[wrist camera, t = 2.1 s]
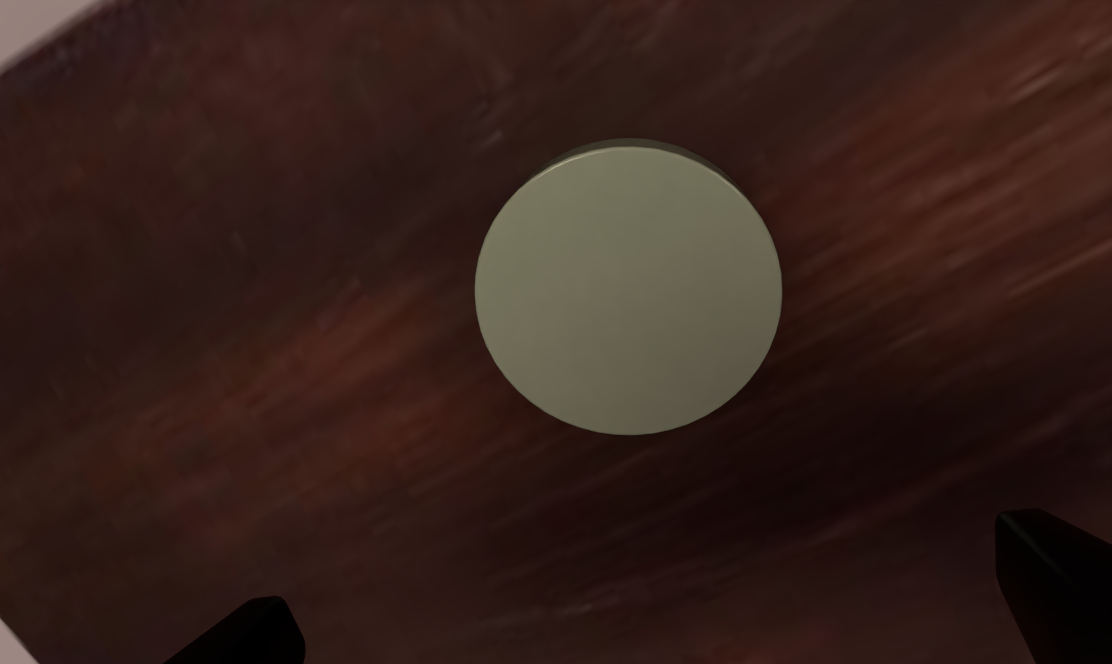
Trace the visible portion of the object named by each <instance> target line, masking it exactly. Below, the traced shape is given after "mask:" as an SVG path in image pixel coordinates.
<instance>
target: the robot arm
mask: <svg viewBox="0 0 1112 664" xmlns="http://www.w3.org/2000/svg"><path fill="white" fill-rule="evenodd" d="M995 551H996V574H997V579H998V583H999V586H1000V589H1001V591H1002V593H1003V596H1004V598H1005V600H1006V602H1007V604H1008V606H1009V608H1010V610H1011V612H1012V614H1013V616H1014V619H1015V621H1016V623H1017V625H1018V627H1019V629H1020V631H1021V633H1022V635H1023V637H1024V640H1025V642H1026V644H1027V646H1028V648H1029V650H1030V652H1031V654H1032V656H1033V658H1034V661H1035V663H1036V664H1112V545H1111V544H1109V543H1107V542H1105V541H1103V540H1101V539H1099V538H1097V537H1095V536H1093V535H1092V534H1090V533H1088V532H1086V531H1084V530H1082V529H1080V528H1078V527H1076V526H1074V525H1072V524H1070V523H1068V522H1066V521H1064V520H1062V519H1060V518H1058V517H1056V516H1054V515H1052V514H1050V513H1048V512H1046V511H1044V510H1041V509H1037V508H1030V509H1021V510H1013V511H1004V512H1001V513H1000V514H999V515H998V516H997V518H996V522H995ZM305 651H306V650H305V641H304V638H303V635H302V633H301V631H300V629H299V627H298V625H297V623H296V621H295V619H294V617H293V615H292V613H291V611H290V609H289V607H288V605H287V603H286V602H285V600H283V599H282V598H281V597H278V596H269V597H260V598H254V599H251V600H249V601H247V602H246V603H244V604H243V605H242V606H240V607H239V608H237V609H236V610H235V611H233V612H232V613H231V614H229V615H228V616H227V617H225V618H224V619H223V620H221V621H220V622H219V623H217V624H216V625H215V626H213V627H212V628H210V629H209V630H208V631H206V632H205V633H204V634H202V635H201V636H200V637H198V638H197V639H196V640H194V641H193V642H192V643H190V644H189V645H188V646H186V647H185V648H183V649H182V650H181V651H179V652H178V653H177V654H175V655H174V656H173V657H171V658H170V659H169V660H167V661H166V662H165V663H163V664H303V663H304V659H305Z"/></svg>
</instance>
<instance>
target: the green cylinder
mask: <svg viewBox="0 0 1112 664" xmlns="http://www.w3.org/2000/svg"><path fill="white" fill-rule="evenodd" d="M782 295H783V292H782V274H781V269H780V264H779V259H778V254H777V251H776V248H775V246H774V243H773V240H772V237H771V235H770V233H769V231H768V229H767V227H766V225H765V224H764V222H763V220H762V218H761V216H760V215H759V213H758V212H757V210H756V209H755V207H754V206H753V204H752V203H751V202H750V200H749V199H748V198H747V196H746V195H745V193H744V192H743V191H742V189H741V188H740V187H739V186H738V185H737V184H736V183H735V182H734V181H733V180H732V179H731V178H730V177H729V176H728V175H727V174H726V173H724V172H723V171H722V170H721V169H719V168H718V167H717V166H715V165H714V164H713V163H711V162H710V161H708V160H706V159H704V158H703V157H701V156H699V155H697V154H696V153H693V152H691V151H688V150H686V149H683V148H681V147H678V146H676V145H672V144H668V143H664V142H660V141H656V140H647V139H638V138H628V139H611V140H605V141H599V142H594V143H591V144H587V145H584V146H581V147H577V148H575V149H573V150H571V151H568V152H566V153H564V154H562V155H560V156H558V157H556V158H554V159H553V160H551V161H550V162H548V163H547V164H545V165H543V166H542V167H541V168H539V169H538V170H537V171H536V172H535V173H533V174H532V175H531V176H530V177H529V178H527V180H526V181H525V182H524V183H523V184H522V185H521V186H520V187H519V188H518V189H517V191H516V192H515V193H514V194H513V195H512V196H511V197H510V199H509V200H508V201H507V202H506V203H505V205H504V206H503V208H502V209H501V210H500V212H499V213H498V215H497V216H496V218H495V219H494V221H493V223H492V225H491V227H490V229H489V231H488V233H487V235H486V237H485V239H484V242H483V245H482V248H481V251H480V254H479V258H478V263H477V269H476V274H475V304H476V313H477V317H478V322H479V326H480V330H481V333H482V335H483V338H484V341H485V343H486V346H487V348H488V350H489V352H490V354H491V356H492V357H493V359H494V361H495V363H496V364H497V366H498V367H499V369H500V370H501V371H502V373H503V374H504V376H505V377H506V378H507V379H508V381H509V382H510V383H511V384H512V385H513V386H514V387H515V388H516V389H517V390H518V391H519V392H520V393H521V394H522V395H523V396H524V397H526V398H527V399H528V400H529V401H530V402H531V403H533V404H534V405H536V406H537V407H539V408H540V409H542V410H543V411H545V412H546V413H548V414H550V415H552V416H554V417H556V418H558V419H559V420H561V421H564V422H566V423H569V424H572V425H574V426H577V427H579V428H583V429H587V430H591V431H595V432H600V433H607V434H615V435H641V434H652V433H657V432H662V431H667V430H671V429H674V428H677V427H681V426H684V425H687V424H689V423H691V422H694V421H696V420H698V419H700V418H702V417H704V416H706V415H708V414H709V413H711V412H713V411H714V410H716V409H718V408H719V407H721V406H722V405H723V404H725V403H726V402H727V401H728V400H730V399H731V398H732V397H733V396H735V395H736V394H737V393H738V392H739V391H740V390H741V389H742V388H743V387H744V385H745V384H746V383H747V382H748V381H749V380H750V379H751V377H752V376H753V375H754V373H755V372H756V371H757V369H758V368H759V367H760V365H761V363H762V362H763V360H764V358H765V356H766V355H767V353H768V351H769V349H770V347H771V344H772V341H773V339H774V336H775V334H776V331H777V327H778V323H779V318H780V314H781V305H782Z"/></svg>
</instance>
